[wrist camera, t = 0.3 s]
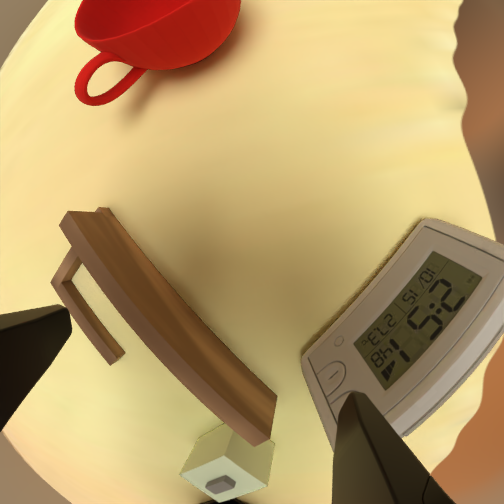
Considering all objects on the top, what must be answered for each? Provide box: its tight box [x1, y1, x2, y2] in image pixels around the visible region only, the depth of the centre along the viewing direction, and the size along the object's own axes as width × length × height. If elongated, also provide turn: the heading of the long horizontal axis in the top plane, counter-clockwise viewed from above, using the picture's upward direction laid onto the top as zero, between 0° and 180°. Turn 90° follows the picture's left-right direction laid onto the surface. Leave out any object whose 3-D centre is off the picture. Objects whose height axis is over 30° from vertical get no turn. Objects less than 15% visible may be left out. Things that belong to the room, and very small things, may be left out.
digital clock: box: [301, 219, 504, 452], centre depth 16 cm, size 16×9×11 cm, turn 128°
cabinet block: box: [179, 423, 275, 503], centre depth 21 cm, size 6×5×7 cm
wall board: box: [50, 207, 277, 447], centre depth 21 cm, size 10×23×6 cm, turn 44°
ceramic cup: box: [75, 0, 241, 106], centre depth 17 cm, size 13×17×10 cm
